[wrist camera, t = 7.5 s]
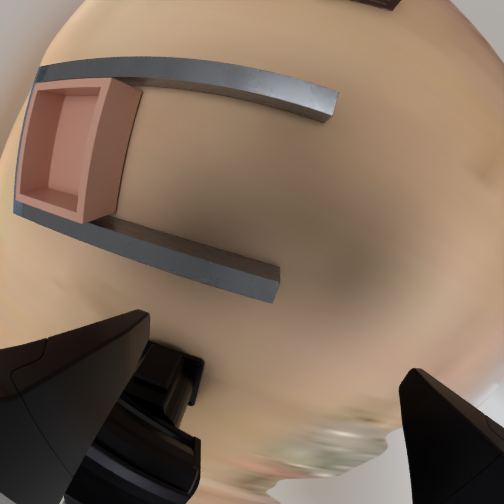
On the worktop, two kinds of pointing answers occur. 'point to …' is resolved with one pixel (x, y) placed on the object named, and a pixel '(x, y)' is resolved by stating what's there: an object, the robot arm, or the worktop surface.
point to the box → (381, 3)
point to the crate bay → (158, 243)
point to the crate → (76, 146)
